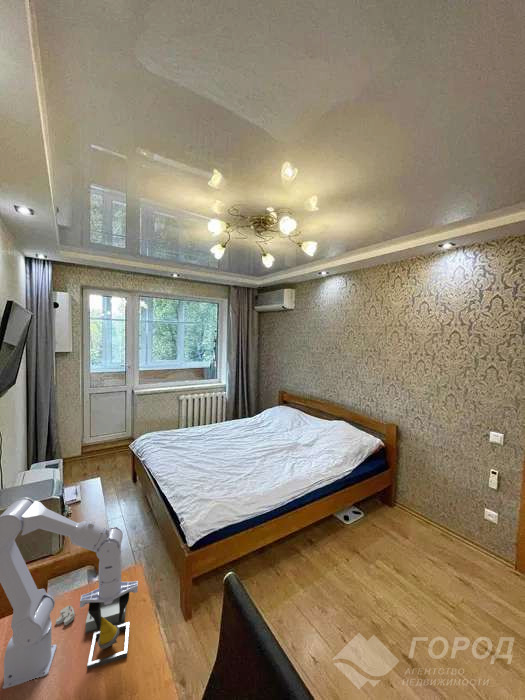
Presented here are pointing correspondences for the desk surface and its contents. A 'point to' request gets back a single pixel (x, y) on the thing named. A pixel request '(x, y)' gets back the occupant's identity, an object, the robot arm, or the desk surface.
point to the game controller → (66, 615)
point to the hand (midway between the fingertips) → (109, 622)
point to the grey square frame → (112, 657)
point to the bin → (106, 615)
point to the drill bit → (107, 634)
